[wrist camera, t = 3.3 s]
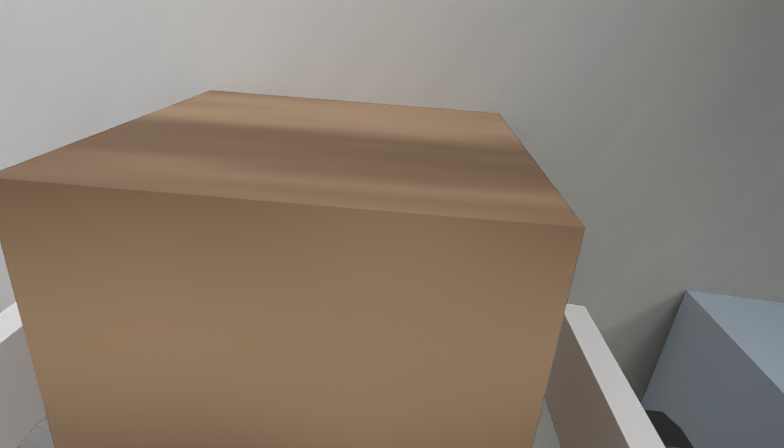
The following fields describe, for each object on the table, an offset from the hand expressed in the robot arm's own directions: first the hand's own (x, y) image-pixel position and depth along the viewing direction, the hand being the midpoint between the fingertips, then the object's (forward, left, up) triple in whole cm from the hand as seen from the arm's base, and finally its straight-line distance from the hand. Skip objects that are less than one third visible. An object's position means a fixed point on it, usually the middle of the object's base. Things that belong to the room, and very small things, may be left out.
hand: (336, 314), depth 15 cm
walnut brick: (0, 0, -1) cm, 1 cm away
